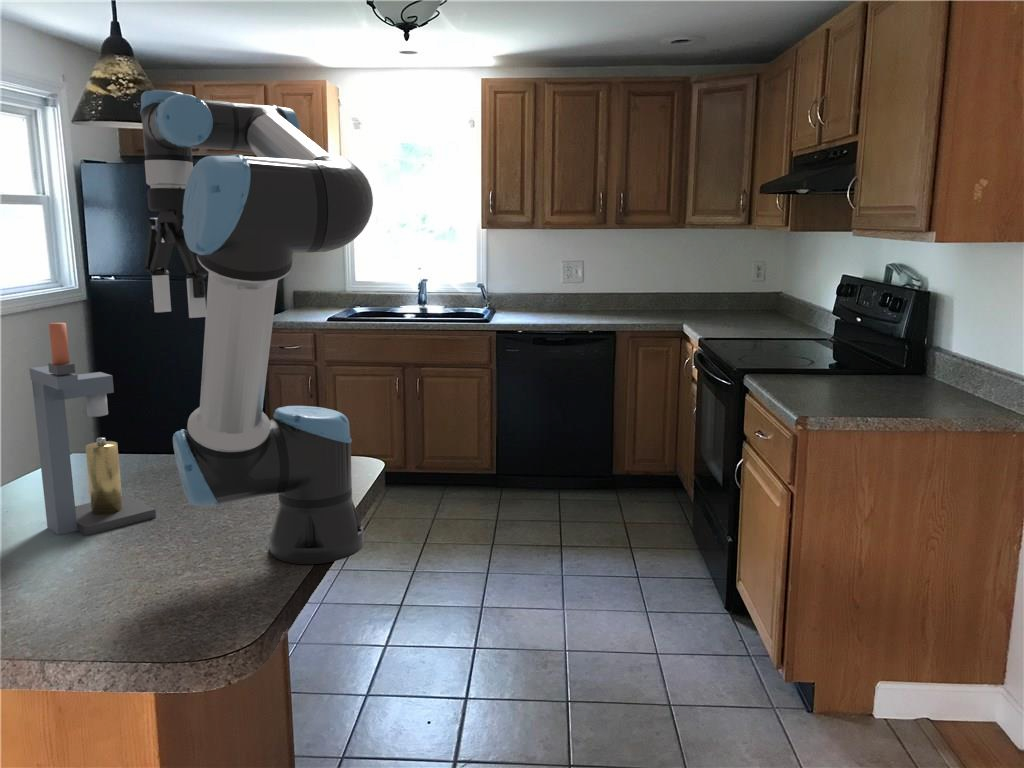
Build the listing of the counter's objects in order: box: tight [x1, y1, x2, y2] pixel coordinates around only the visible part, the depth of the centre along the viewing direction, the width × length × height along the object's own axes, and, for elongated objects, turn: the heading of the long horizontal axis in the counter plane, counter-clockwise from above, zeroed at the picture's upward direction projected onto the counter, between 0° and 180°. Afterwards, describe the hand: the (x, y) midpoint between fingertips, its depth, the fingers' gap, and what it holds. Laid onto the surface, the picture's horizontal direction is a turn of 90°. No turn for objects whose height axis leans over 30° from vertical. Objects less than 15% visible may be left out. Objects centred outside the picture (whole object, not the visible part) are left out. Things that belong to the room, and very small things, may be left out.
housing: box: [85, 436, 123, 515], centre depth 142 cm, size 5×5×13 cm
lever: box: [47, 322, 76, 375], centre depth 127 cm, size 4×3×8 cm
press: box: [28, 365, 157, 536], centre depth 139 cm, size 15×15×28 cm
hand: (179, 314), depth 140 cm, fingers open, 12 cm apart
